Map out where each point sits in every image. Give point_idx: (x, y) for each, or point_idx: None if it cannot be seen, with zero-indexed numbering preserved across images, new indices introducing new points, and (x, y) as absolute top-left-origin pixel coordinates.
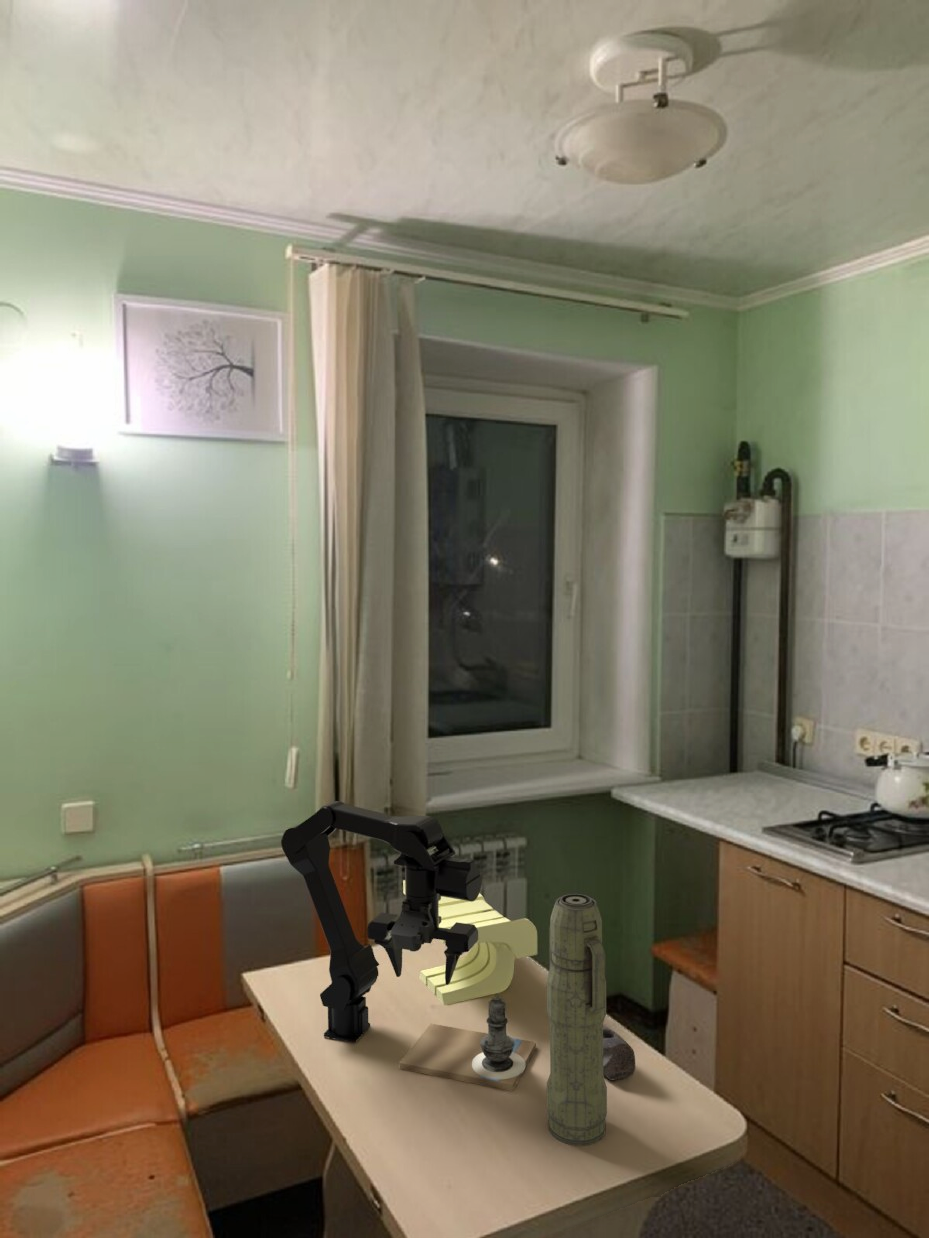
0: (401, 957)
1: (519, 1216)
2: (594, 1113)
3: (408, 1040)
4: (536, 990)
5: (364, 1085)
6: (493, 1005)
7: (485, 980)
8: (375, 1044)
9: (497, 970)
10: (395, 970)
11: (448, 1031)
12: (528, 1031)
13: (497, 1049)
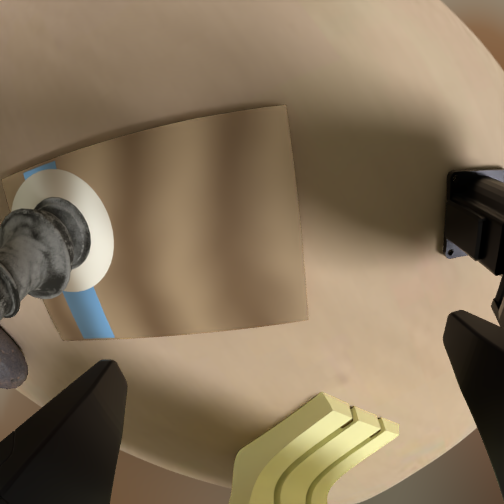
0: (483, 426)
1: None
2: None
3: (334, 241)
4: (192, 461)
5: (322, 3)
6: None
7: (266, 459)
8: (403, 187)
9: (251, 479)
10: (488, 326)
11: (246, 308)
12: None
13: (8, 223)
